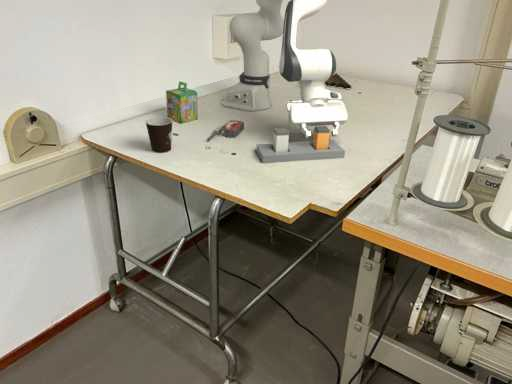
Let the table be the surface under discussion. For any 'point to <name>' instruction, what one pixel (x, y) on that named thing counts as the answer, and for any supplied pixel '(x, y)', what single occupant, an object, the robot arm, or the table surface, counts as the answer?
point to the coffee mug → (160, 133)
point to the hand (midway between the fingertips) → (321, 136)
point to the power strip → (299, 152)
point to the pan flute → (337, 81)
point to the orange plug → (321, 137)
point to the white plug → (280, 140)
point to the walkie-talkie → (229, 129)
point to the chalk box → (182, 104)
